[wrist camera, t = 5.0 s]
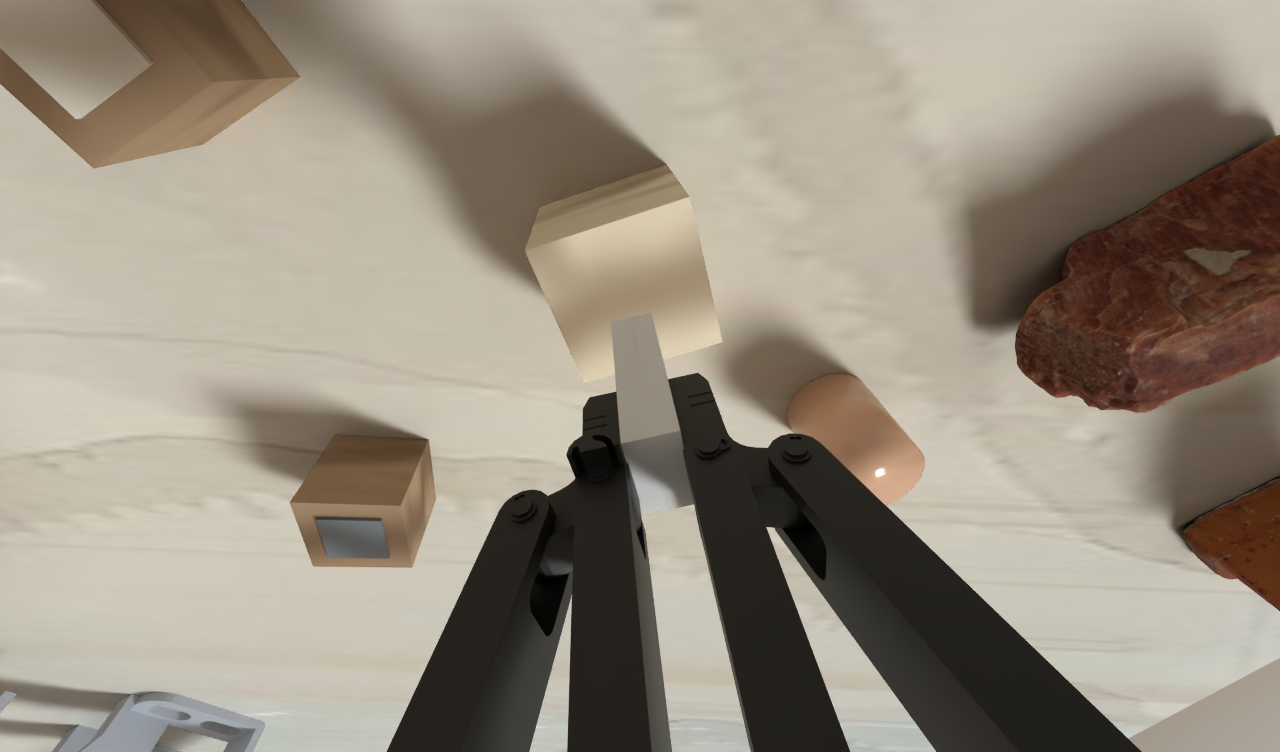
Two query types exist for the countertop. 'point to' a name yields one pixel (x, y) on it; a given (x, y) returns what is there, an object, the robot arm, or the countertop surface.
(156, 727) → the bracket
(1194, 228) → the rock
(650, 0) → the countertop surface
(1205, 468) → the countertop surface
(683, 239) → the maple block
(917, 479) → the peach rounded cylinder
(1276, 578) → the sculpture
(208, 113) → the walnut block
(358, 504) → the walnut block
